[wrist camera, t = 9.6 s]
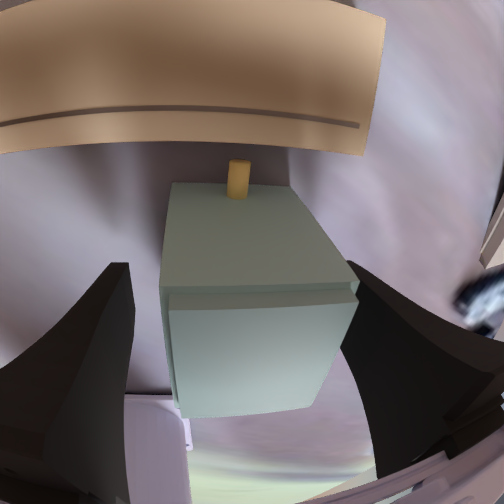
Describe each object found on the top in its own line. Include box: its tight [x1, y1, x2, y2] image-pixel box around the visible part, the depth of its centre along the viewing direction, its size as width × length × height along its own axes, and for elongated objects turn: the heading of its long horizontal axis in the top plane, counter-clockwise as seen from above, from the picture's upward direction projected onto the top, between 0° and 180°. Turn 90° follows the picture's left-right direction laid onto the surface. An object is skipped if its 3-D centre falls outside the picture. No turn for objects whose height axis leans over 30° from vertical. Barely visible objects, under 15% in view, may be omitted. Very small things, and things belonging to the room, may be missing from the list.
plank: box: [0, 0, 386, 156], centre depth 7 cm, size 5×22×2 cm, turn 84°
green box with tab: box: [159, 159, 360, 419], centre depth 10 cm, size 6×4×6 cm
